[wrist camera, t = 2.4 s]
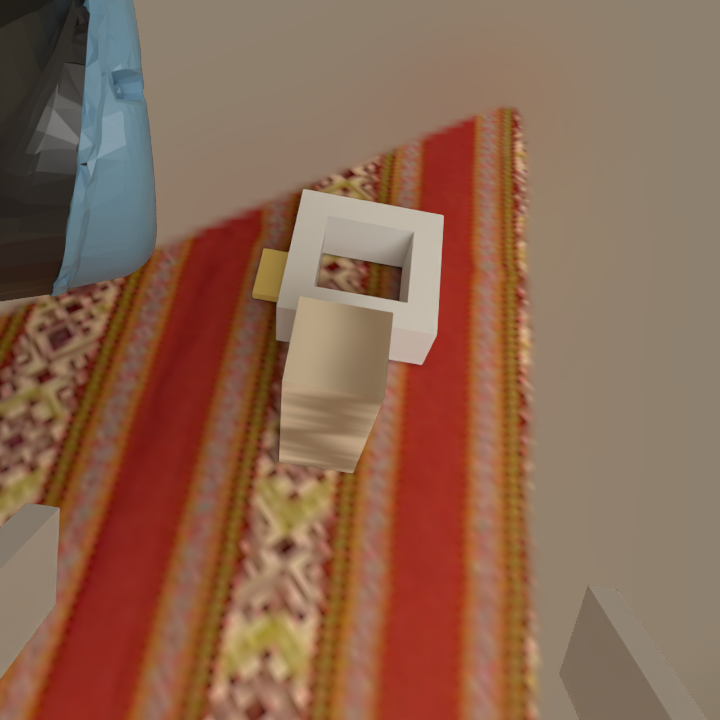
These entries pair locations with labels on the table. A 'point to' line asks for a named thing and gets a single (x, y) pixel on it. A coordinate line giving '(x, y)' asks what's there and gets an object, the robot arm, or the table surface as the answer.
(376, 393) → the beech peg
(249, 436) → the table surface
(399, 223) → the socket block
